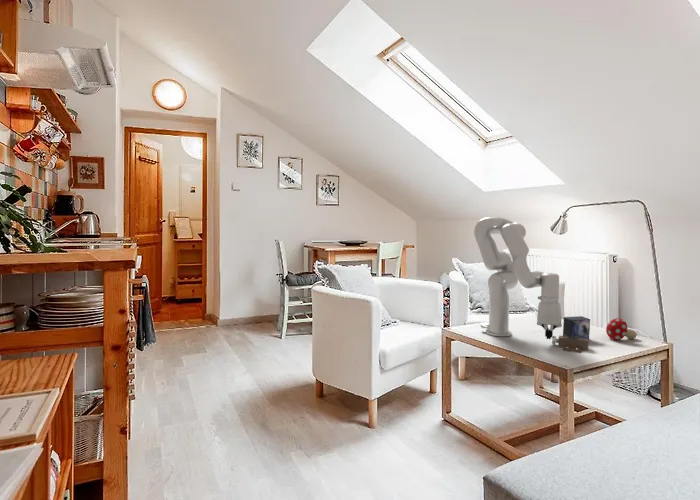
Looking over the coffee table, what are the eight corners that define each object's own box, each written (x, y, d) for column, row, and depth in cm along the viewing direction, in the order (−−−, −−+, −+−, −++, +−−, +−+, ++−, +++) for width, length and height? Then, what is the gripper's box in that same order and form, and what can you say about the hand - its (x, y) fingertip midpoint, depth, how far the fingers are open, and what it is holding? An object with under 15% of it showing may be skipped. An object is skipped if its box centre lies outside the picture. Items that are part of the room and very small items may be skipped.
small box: (570, 341, 218) (571, 319, 217) (562, 337, 224) (562, 316, 223) (590, 340, 220) (590, 318, 219) (580, 336, 226) (581, 315, 226)
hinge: (556, 349, 204) (557, 340, 204) (560, 341, 217) (560, 332, 217) (586, 353, 198) (587, 343, 198) (588, 345, 211) (589, 336, 210)
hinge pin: (551, 345, 210) (552, 336, 210) (553, 343, 214) (553, 334, 213) (584, 349, 203) (585, 340, 203) (585, 347, 207) (585, 338, 206)
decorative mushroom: (637, 320, 223) (613, 311, 221) (648, 337, 214) (622, 327, 212) (621, 334, 230) (597, 325, 227) (631, 351, 221) (606, 342, 218)
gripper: (531, 299, 212) (530, 338, 213) (566, 302, 204) (565, 342, 205) (533, 297, 218) (533, 334, 219) (568, 299, 211) (567, 338, 212)
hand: (548, 338), depth 212 cm, fingers closed
